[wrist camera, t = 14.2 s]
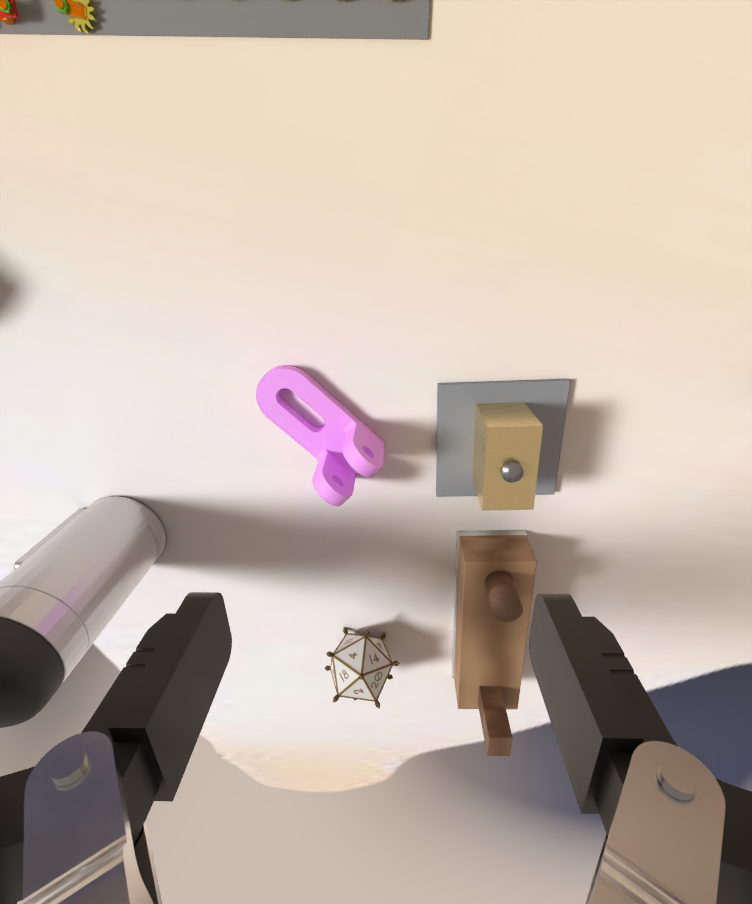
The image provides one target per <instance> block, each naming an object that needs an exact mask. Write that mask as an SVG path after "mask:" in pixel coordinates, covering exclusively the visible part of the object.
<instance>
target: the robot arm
mask: <svg viewBox="0 0 752 904" xmlns="http://www.w3.org/2000/svg"><path fill="white" fill-rule="evenodd" d="M165 545H166V534H165V530H164V527H163V525H162V523H161V521H160V520H159V519H158V517H157V516H156V515H155V514H154V513H153V512H152V511H151V510H150V509H149V508H147V507H146V506H144V505H143V504H141V503H139V502H137V501H135V500H132V499H129V498H125V497H119V496H112V497H105V498H101V499H99V500H97V501H95V502H94V503H93V504H91V505H90V506H89V507H88V508H85V509H78V510H77V511H76V512H75V513H74V514H72V515H71V516H70V517H69V518H68V519H66V520H65V521H64V522H63V523H62V524H60V525H59V526H58V527H57V528H56V529H54V530H53V531H52V532H51V533H50V534H48V535H47V536H46V537H45V538H44V539H42V540H41V541H40V542H39V543H38V544H36V545H35V546H34V547H33V548H32V549H30V550H29V551H28V552H27V553H26V554H24V555H23V556H22V557H21V558H20V559H18V560H17V561H16V562H15V564H14V569H15V570H14V571H12V572H11V573H10V574H9V575H8V576H6V577H5V578H4V579H3V580H2V581H1V582H0V728H2V727H8V726H13V725H17V724H20V723H23V722H25V721H27V720H29V719H31V718H32V717H33V716H35V715H36V714H37V713H38V712H40V711H41V709H42V708H43V707H44V706H45V705H46V704H47V703H48V701H49V700H50V699H51V697H52V696H53V695H54V694H55V692H56V691H57V690H58V688H59V687H60V686H61V684H62V683H63V682H64V680H65V679H66V678H67V677H68V675H69V674H70V672H71V671H72V670H73V669H74V667H75V666H76V665H77V663H78V662H79V660H81V658H82V657H83V655H84V654H85V653H86V651H87V650H88V649H89V648H90V646H91V645H92V644H93V642H94V641H95V640H96V638H97V637H98V636H99V634H100V633H101V632H102V630H103V629H104V628H105V627H106V625H107V624H108V623H109V621H110V620H111V619H112V617H113V616H114V615H115V613H116V612H117V611H118V609H119V608H120V607H121V606H122V604H123V603H124V602H125V600H126V599H127V598H128V596H129V595H130V594H131V592H132V591H133V590H134V588H135V587H136V586H137V585H138V583H139V582H140V581H141V579H142V578H143V577H144V575H145V574H146V573H147V571H148V570H149V569H150V567H151V566H152V565H153V563H154V562H155V561H156V559H157V558H158V557H159V555H160V554H161V553H162V551H163V550H164V547H165ZM231 647H232V637H231V632H230V627H229V623H228V618H227V614H226V609H225V605H224V600H223V597H222V595H221V593H198V592H191V593H189V594H188V595H187V596H186V597H185V599H184V600H183V602H182V604H181V605H180V607H179V609H178V610H177V612H176V614H165V615H164V616H163V617H162V618H161V619H160V620H159V621H157V622H156V623H155V624H154V625H153V626H152V627H151V628H149V629H148V631H147V632H146V634H145V635H144V637H143V638H142V640H141V641H140V643H139V645H138V646H137V648H136V652H133V654H132V655H131V657H130V659H129V660H128V662H127V663H126V667H125V668H123V669H122V671H121V673H120V674H119V676H118V677H117V679H116V680H115V682H114V684H113V685H112V687H111V688H110V690H109V691H108V693H107V694H106V696H105V697H104V699H103V701H102V702H101V704H100V705H99V707H98V708H97V710H96V711H95V713H94V715H93V716H92V718H91V719H90V721H89V722H88V724H87V725H86V727H85V728H84V730H83V731H82V732H81V733H80V734H77V735H74V736H72V737H69V738H68V739H66V740H64V741H62V742H61V743H59V744H57V745H56V746H55V747H53V748H52V749H51V750H50V751H49V752H47V753H46V754H45V755H44V756H43V757H42V758H41V760H40V761H39V762H38V763H37V764H36V766H34V767H31V768H29V769H25V770H22V771H18V772H15V773H12V774H8V775H5V776H2V777H0V904H17V902H18V901H21V900H22V904H162V900H161V895H160V890H159V885H158V880H157V874H156V870H155V865H154V859H153V854H152V850H151V845H150V840H149V835H148V829H147V825H146V822H145V820H146V818H147V815H148V813H149V811H150V808H151V806H152V804H153V802H154V801H173V799H174V797H175V794H176V792H177V789H178V787H179V784H180V781H181V779H182V777H183V774H184V772H185V769H186V766H187V764H188V762H189V759H190V757H191V754H192V752H193V749H194V746H195V744H196V742H197V739H198V737H199V734H200V732H201V729H202V727H203V724H204V722H205V719H206V717H207V714H208V712H209V709H210V707H211V704H212V702H213V699H214V697H215V694H216V692H217V689H218V687H219V684H220V682H221V679H222V677H223V674H224V672H225V669H226V667H227V664H228V661H229V658H230V654H231ZM529 650H530V658H531V662H532V666H533V669H534V672H535V675H536V678H537V681H538V684H539V687H540V690H541V693H542V696H543V699H544V702H545V705H546V708H547V711H548V714H549V717H550V720H551V723H552V726H553V729H554V733H555V735H556V738H557V742H558V744H559V747H560V751H561V753H562V756H563V760H564V763H565V766H566V769H567V772H568V775H569V778H570V780H571V784H572V787H573V790H574V793H575V796H576V798H577V802H578V804H579V808H580V811H581V813H587V814H600V816H601V819H602V822H603V825H604V828H605V830H606V836H605V839H604V842H603V845H602V849H601V853H600V856H599V859H598V863H597V866H596V869H595V873H594V876H593V880H592V883H591V886H590V890H589V894H588V897H587V900H586V903H585V904H752V792H751V791H748V790H744V789H742V788H739V787H736V786H733V785H730V784H727V783H725V782H722V781H720V780H718V779H716V778H715V777H714V776H713V775H712V773H711V772H710V771H709V770H708V769H707V768H706V767H705V766H704V764H702V763H701V762H700V761H699V760H698V759H697V758H695V757H694V756H693V755H691V754H690V753H688V752H687V751H685V750H683V749H682V748H679V747H678V746H677V745H676V743H675V741H674V740H673V738H672V737H671V735H670V733H669V731H668V730H667V728H666V727H665V724H664V723H663V721H662V719H661V718H660V716H659V714H658V712H657V710H656V709H655V707H654V705H653V703H652V701H651V700H650V698H649V696H648V694H647V693H646V691H645V689H644V687H643V686H642V684H641V682H640V680H639V679H638V677H637V675H636V674H634V670H633V668H632V666H631V665H630V663H629V661H628V659H627V658H626V657H625V656H624V652H623V650H622V649H621V647H620V645H619V643H618V642H617V640H616V638H615V636H614V635H613V633H612V632H611V631H609V630H608V629H607V628H606V627H605V626H604V625H603V624H602V623H601V622H600V621H599V620H598V619H596V618H595V617H582V616H581V614H580V612H579V610H578V608H577V606H576V604H575V602H574V600H573V598H572V597H571V596H570V595H568V594H539V595H537V597H536V600H535V606H534V612H533V619H532V625H531V632H530V638H529Z"/></svg>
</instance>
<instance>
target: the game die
mask: <svg viewBox="0 0 752 904" xmlns="http://www.w3.org/2000/svg"><path fill="white" fill-rule="evenodd" d="M343 631H344V633H345V636H344V638H343V639H342V641H341V642H340V644H339V645H338V647H337V648H336V650H335V651H334V653H332V652H330V651H329V652H327V653H326V654H327V656H329V657H332V659H331V666H326V667H325V669H326V670H327V671H328V670H331V673H332V677H333V681H334V684H335V688H336V692H337V695H336V696H335V697H333V698H334V699H333V702H336V701H337V700H338V699H339V697H346V698H353V699H354V700H356V699H360V700H368V701H375V705H376V707H378V708H379V709H380V703H379V702H378V698H379V695H380V693H381V691H382V689H383V686H384V684H385V682H386V680H387V678H388V679H392V678H393V677H392V675H390V674H389V673H390V671H391V668H392V666H393V665H394V666H398V664H400V663H399V662H397V661H394V662H392V660H391V658H390V656H389V654H388V651H387V649H386V647H385V645H384V643H383V639H384V638H385V634H386V633H384V634H382V635H381V638H378V637H372V636H368V633H369V632H368V630H366V631H364V635H358V634H350V633H348V631H347V629H346V628H344V630H343Z"/></svg>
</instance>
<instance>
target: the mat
mask: <svg viewBox="0 0 752 904" xmlns="http://www.w3.org/2000/svg"><path fill="white" fill-rule="evenodd" d="M569 385H570V380H569V379H548V380H519V381H489V382H459V383H438V390H437V478H436V495H437V497H444V496H477V493H476V490H475V487H474V484H473V481H472V465H473V445H474V424H475V404H484V403H517V402H524V403H525V404H526V405H527V407H528V408H529V409H530V410H531V411H532V413H533V414H534V415H535V416H536V418H537V419H538V420H539V421H540V423H541V424H542V425H543V431H542V440H541V448H540V456H539V465H538V473H537V482H536V490H535V495H547V494H554V493H555V485H556V478H557V471H558V464H559V457H560V450H561V443H562V435H563V428H564V421H565V414H566V407H567V400H568V392H569Z"/></svg>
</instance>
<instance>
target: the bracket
mask: <svg viewBox="0 0 752 904" xmlns="http://www.w3.org/2000/svg"><path fill="white" fill-rule="evenodd" d="M283 388H287V389H289V390H291V391H292V392H293V393H295V394H296V395H297V396H298V397H299V398H300V399H302V400H303V401H304V402H305V403H306V404H307V405H309V406H310V407H311V408H312V409H313V410H314V411H315V412H317V413H318V414H319V415H320V416H321V417H322V418H323V419H324V420H325V425H324V426H323V427H320V428H317V427H314V426H312V425H311V424H310V423H309V422H307V421H306V420H305V419H304V418H303V417H302V416H300V415H299V414H298V413H297V412H296V411H295V410H293V409H292V408H291V407H290V406H289V405H287V404H286V403H285V402H284V401H283V400H282V399H281V398H280V396H279V390H280V389H283ZM256 398H257V403H258V405H259V408H260V409H261V411H262V412H263V414H264V415H265V416H266V417H267V418H269V419H270V420H271V421H272V422H273V423H275V424H276V425H277V426H278V427H279V428H281V429H282V430H283V431H284V432H286V433H287V434H288V435H289V436H290V437H292V438H293V439H294V440H295V441H296V442H298V443H299V444H300V445H301V446H302V447H304V448H305V449H306V450H307V451H308V452H310V453H311V454H312V455H313V456H314V457H316V458H317V460H318V465H317V468H316V470H315V473H314V476H313V479H312V482H313V486H314V488H315V490H316V491H317V493H318V494H319V495H320V496H321V497H322V498H323V499H324V500H325V501H326V502H328V503H329V504H331V505H333V506H341V505H342V504H343V503H344V502H345V501H346V500H347V499H348V498H349V497H351V496H352V494H353V488H354V482H355V477H356V474H357V473H359V474H361V475H362V476H364V477H367V478H371V477H372V476H373V475H374V474H376V473H377V472H378V471H379V470H380V469H381V468H382V467H383V464H384V448H385V442H384V441H382V440H381V439H380V438H379V437H378V436H377V435H376V434H375V433H373V432H372V431H371V430H370V429H369V428H368V427H367V426H366V425H364V424H363V423H362V422H361V421H360V420H359V419H358V418H357V417H355V416H354V415H353V414H352V413H351V412H350V411H349V410H348V409H346V408H345V407H344V406H343V405H342V404H341V403H340V402H338V401H337V400H336V399H335V398H334V397H333V396H332V395H331V394H329V393H328V392H327V391H326V390H325V389H324V388H323V387H322V386H320V385H319V384H318V383H317V382H316V381H315V380H314V379H313V378H311V377H310V376H309V375H308V374H307V373H306V372H304V371H303V370H301V369H299V368H297V367H294V366H289V365H282V366H278V367H275V368H273V369H271V370H270V371H268V372H267V373H266V374H265V375H264V376H263V377H262V379H261V380H260V381H259V383H258V386H257V390H256Z"/></svg>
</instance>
